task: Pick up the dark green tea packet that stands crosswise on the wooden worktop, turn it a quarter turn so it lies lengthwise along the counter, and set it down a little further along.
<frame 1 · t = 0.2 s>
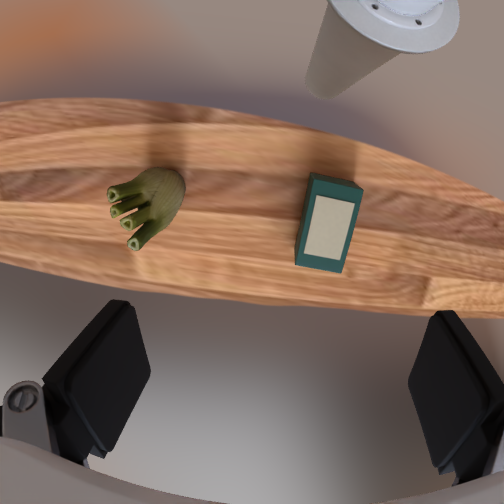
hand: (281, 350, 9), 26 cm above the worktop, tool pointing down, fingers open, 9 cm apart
tea packet: (324, 216, 33), on the worktop
fennel bulb: (169, 189, 34), on the worktop
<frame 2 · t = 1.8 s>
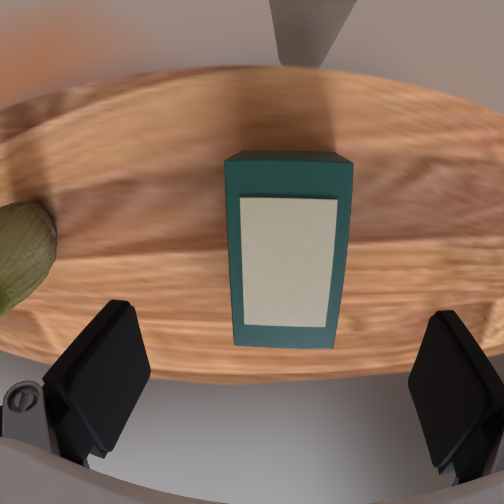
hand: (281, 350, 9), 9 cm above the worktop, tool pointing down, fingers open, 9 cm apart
tea packet: (287, 232, 17), on the worktop
fennel bulb: (43, 230, 19), on the worktop
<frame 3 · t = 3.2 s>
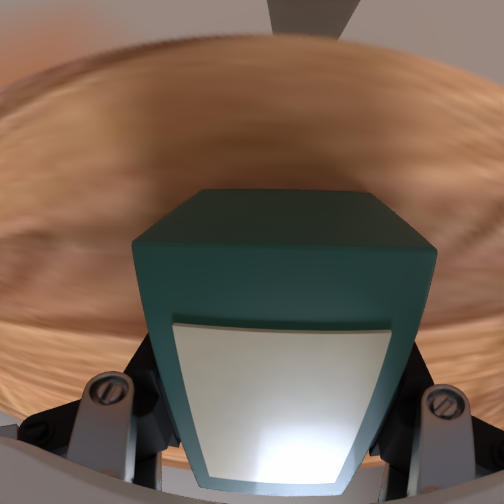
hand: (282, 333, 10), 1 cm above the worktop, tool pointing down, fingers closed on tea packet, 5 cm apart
tea packet: (283, 322, 10), on the worktop, touching gripper
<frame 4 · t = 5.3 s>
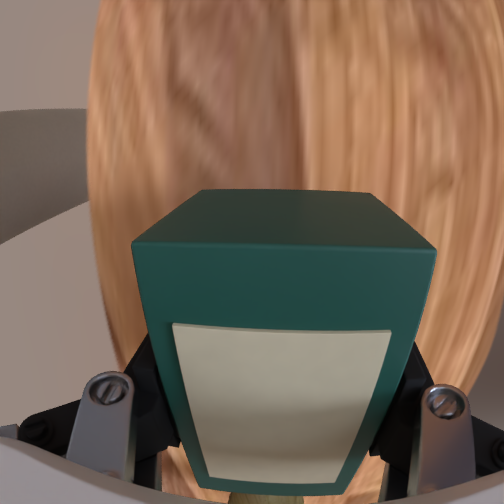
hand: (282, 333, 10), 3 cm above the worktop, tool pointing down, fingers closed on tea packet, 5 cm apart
tea packet: (283, 322, 10), point 3 cm above the worktop, touching gripper
fennel bulb: (268, 474, 20), on the worktop
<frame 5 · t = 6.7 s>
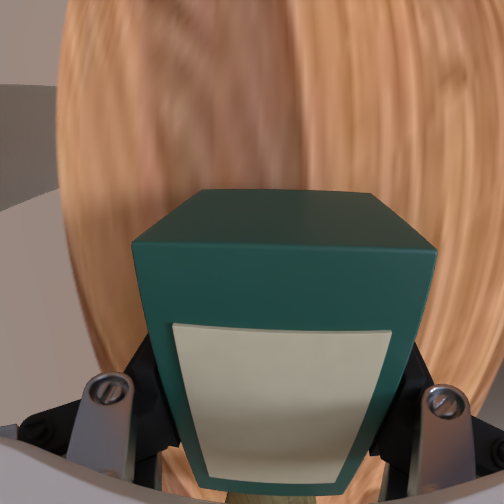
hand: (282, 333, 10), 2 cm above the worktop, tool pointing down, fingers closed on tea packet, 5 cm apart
tea packet: (283, 322, 10), point 1 cm above the worktop, touching gripper
fennel bulb: (271, 468, 17), on the worktop
when the fingers open (1 cm above the worktop, at t = 7.6 s): tea packet stays where it is, on the worktop.
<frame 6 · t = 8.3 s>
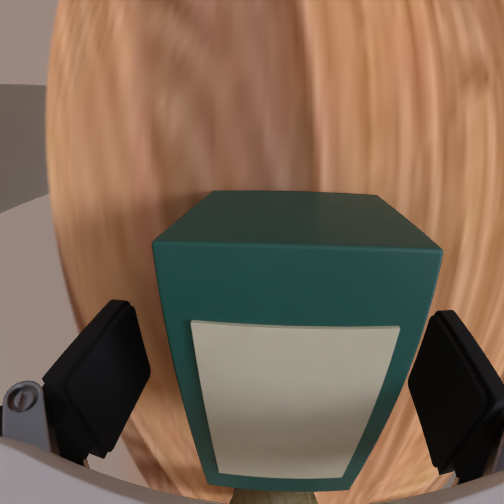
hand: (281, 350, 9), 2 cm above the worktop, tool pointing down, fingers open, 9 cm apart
tea packet: (290, 320, 11), on the worktop
fennel bulb: (274, 481, 16), on the worktop
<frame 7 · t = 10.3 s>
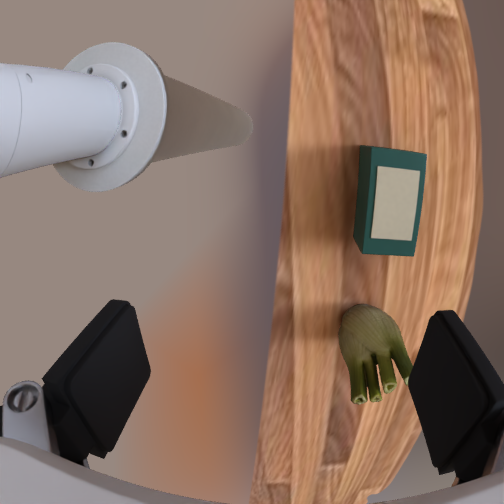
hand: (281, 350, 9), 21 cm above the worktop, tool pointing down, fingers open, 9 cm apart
tea packet: (381, 194, 27), on the worktop
fennel bulb: (361, 317, 32), on the worktop
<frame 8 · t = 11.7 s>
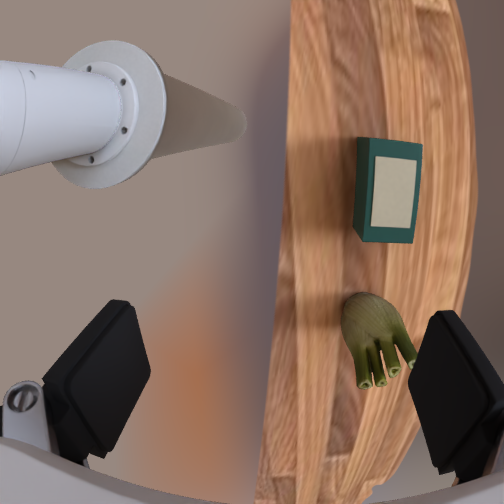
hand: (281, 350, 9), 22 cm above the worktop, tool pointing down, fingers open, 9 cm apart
tea packet: (379, 184, 28), on the worktop
fennel bulb: (362, 305, 33), on the worktop
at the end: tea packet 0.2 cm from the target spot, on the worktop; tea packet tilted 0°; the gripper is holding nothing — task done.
